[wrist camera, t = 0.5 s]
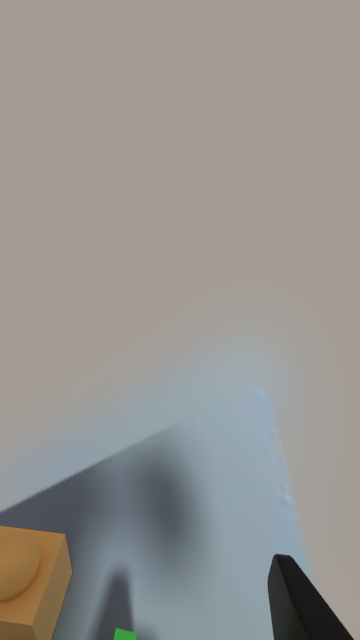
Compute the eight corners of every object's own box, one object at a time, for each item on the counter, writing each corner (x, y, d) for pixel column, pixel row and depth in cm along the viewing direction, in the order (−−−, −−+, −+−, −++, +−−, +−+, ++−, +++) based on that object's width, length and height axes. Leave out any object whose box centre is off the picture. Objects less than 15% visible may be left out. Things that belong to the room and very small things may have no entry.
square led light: (44, 660, 19) (28, 616, 16) (-30, 650, 19) (-59, 604, 17) (72, 572, 23) (63, 524, 20) (10, 564, 23) (-8, 515, 20)
